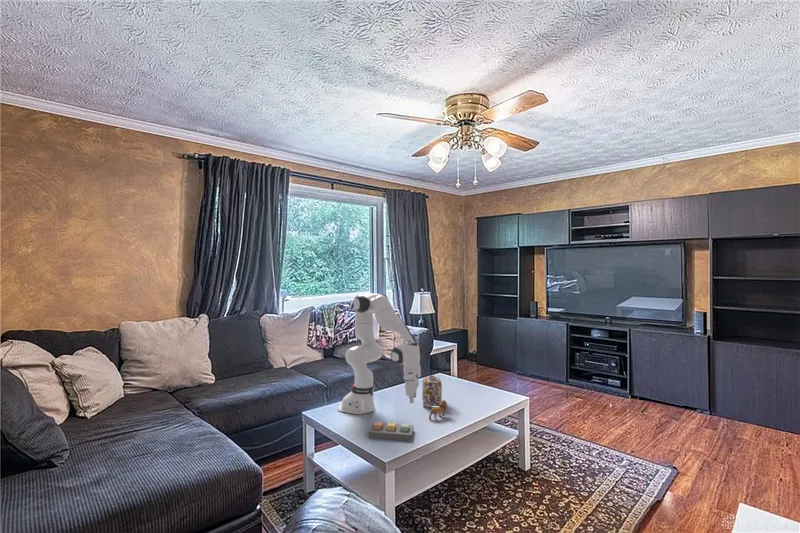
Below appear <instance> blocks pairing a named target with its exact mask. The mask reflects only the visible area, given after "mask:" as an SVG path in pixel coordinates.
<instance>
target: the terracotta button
mask: <svg viewBox="0 0 800 533" xmlns="http://www.w3.org/2000/svg"><path fill="white" fill-rule="evenodd" d="M383 422H384V421H375V422H373V423H374V429H377V430H382V429H383Z"/></svg>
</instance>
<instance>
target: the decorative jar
mask: <svg viewBox="0 0 800 533" xmlns="http://www.w3.org/2000/svg"><path fill="white" fill-rule="evenodd" d="M442 386H443V385H442V379H441V378H439V377H437V376H436V375H428V377H424V378H422V391H421V393H422V394H421V397H422V398H421V400H423V403H422V407H423V406H440V403H441V401H442V400H443V398H442V396H443V394H442V391H443V389H442V388H443V387H442Z"/></svg>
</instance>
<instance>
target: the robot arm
mask: <svg viewBox="0 0 800 533" xmlns="http://www.w3.org/2000/svg"><path fill="white" fill-rule="evenodd" d="M389 300H390V299H389V297H388V295H386V294H384V293H366V294H359V295H356V296H355V297H354V299H353V308H354V310H355V315H354V316H355V318H354V335H355V337H356V338H358V339H359V340H360V341H361V345H357V346H353V347H350V348H348V349H347V350H346V351H345V355H344V356H345V360H346V361H345V362H347V364H348V365H349V366H351V367H352V369H353V373H354V383H353V384H352V386H351V391H350V392H349V393H347V394H346V395H345V396H344V397H343V399H342V401H341V403H340V404H339V406H338V407H337V411H338V412H339V413H340V412H341V413H348V414H354V415H364V414H366V413H367V414H368V413H371V412H373V411H375V409H376V406H375V400H374V392H375V387H374V374H373V373H374V372H373V371H372V370H371V369H369V368H368V363H373V362H375V361H376V362H377V361H378V360H380V359H381V358H382V356H383V349H382V346H381V345H380V344H378V342H377V341H376V338H375V334H374V317H375V319H376V321H377V324H378V325H379V326H380V327H381V328H382V329H385V330H387V331H388V330H389V331H392V332H395V333H397V334H399V336H400V337H401V338H402V341H403V343H402V344H400V345H397V346H395V347H393V348H392V350H391V352H390V359H391V362H393V363H394V365H397V366H398V365H400V366H403V381H404V385H405V395H406V396H407V397H408V398H409V403H410V404H413V403H415V402H414V399H416V398H417V389H418V388H419V385H420V384H419V378H420V377H422V376H421V375H422V374H421V373H422V372H421V371H422V369H421V368H422V366H421V364H420V363H421V360H422V358H423V355H424V351H423V348H422V347H421V345H419V343H418V341H416V339H415V337H414V335H413V334H412V332H411V330H410V329H409V327H408V326H407V324H406V322H405V321H404V320H403V319H401V318H400V317H399V316H398V314H396V312H395V310H394V307H393V306H392V304H391V302H390V301H389ZM373 316H374V317H373Z"/></svg>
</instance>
